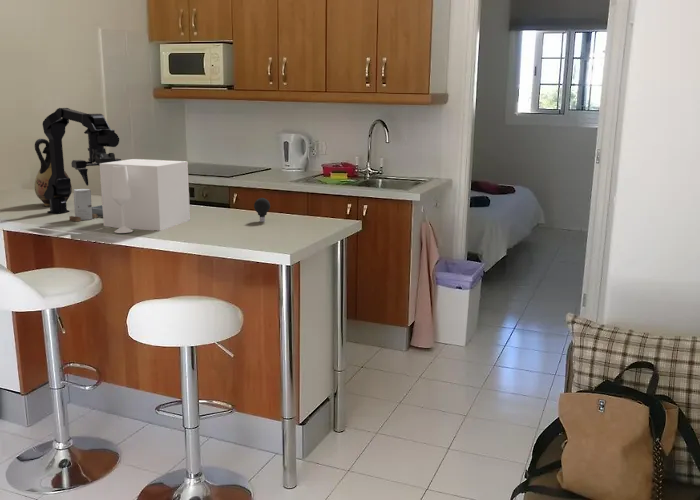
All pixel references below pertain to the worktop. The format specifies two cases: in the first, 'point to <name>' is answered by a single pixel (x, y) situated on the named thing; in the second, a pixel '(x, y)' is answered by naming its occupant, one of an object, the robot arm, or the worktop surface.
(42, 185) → the ceramic jug
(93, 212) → the slate tray
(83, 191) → the skincare box
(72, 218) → the brown wooden block
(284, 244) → the worktop surface
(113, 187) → the champagne flute
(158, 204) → the cube
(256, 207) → the light bulb
